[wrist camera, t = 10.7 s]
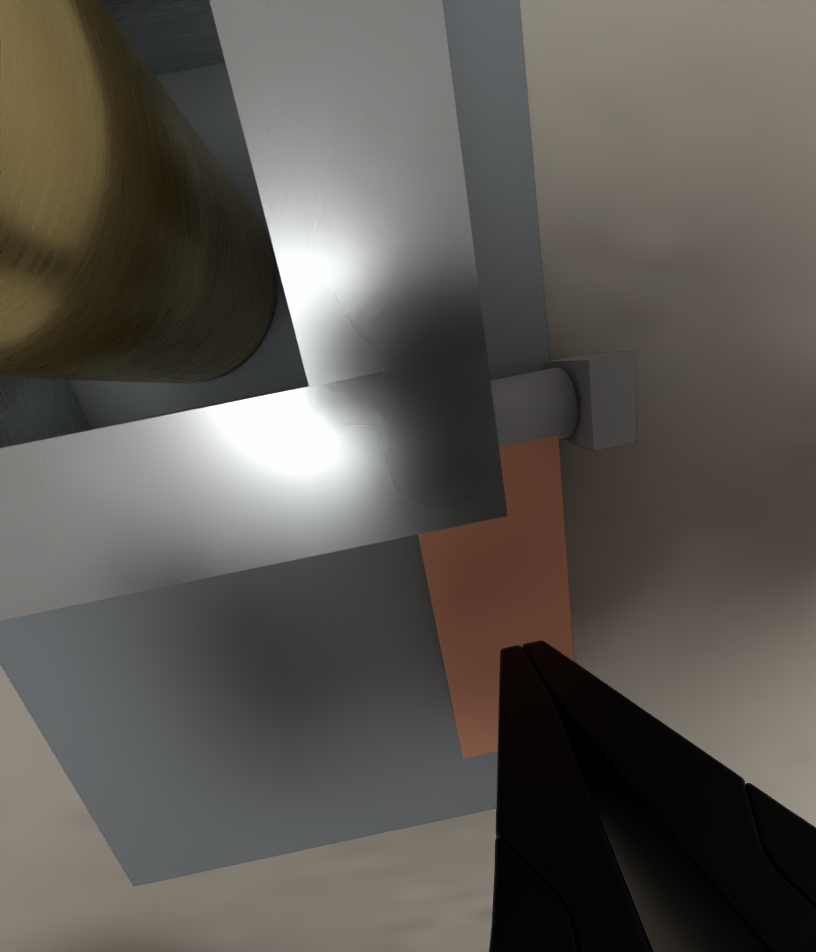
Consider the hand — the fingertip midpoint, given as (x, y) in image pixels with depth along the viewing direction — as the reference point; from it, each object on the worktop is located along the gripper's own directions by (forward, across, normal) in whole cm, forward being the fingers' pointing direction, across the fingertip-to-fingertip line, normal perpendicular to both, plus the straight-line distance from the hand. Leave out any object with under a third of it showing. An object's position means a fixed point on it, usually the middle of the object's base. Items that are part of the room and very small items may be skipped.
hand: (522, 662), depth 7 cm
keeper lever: (+2, 0, -1) cm, 3 cm away
